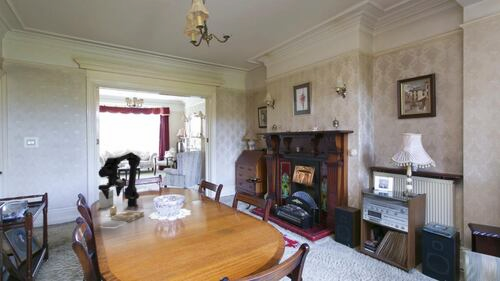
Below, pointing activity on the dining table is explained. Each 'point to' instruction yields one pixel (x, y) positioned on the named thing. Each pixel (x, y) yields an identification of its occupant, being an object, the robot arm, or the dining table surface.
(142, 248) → the dining table surface
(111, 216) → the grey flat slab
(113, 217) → the hole deck
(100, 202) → the supplement box
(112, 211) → the gold cylinder
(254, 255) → the dining table surface
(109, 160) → the robot arm
